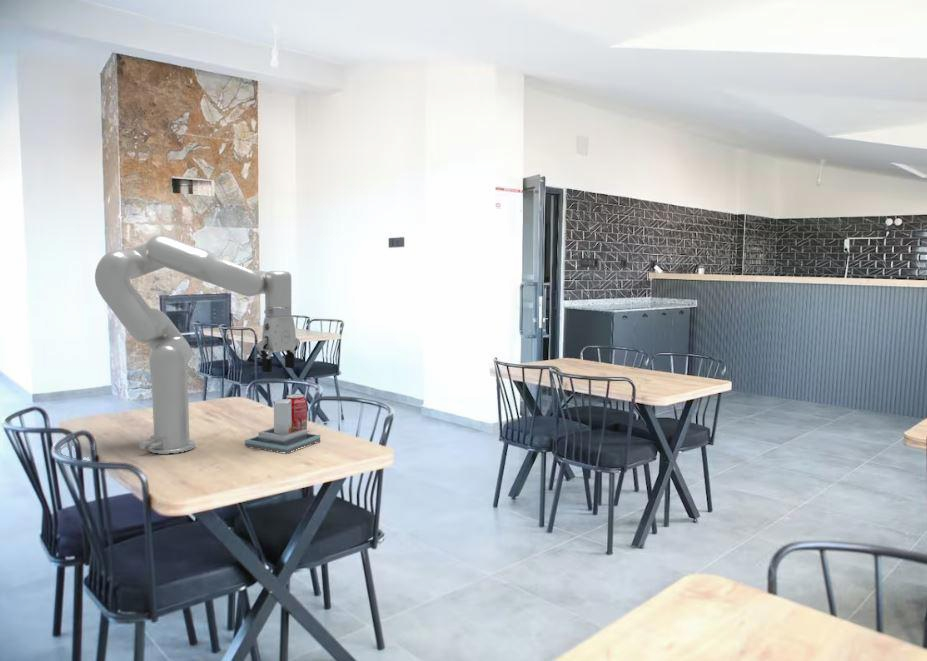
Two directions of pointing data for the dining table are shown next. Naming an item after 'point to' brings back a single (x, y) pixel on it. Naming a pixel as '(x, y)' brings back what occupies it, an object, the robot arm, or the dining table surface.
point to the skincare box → (282, 417)
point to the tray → (282, 440)
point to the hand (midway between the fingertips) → (278, 369)
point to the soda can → (298, 410)
